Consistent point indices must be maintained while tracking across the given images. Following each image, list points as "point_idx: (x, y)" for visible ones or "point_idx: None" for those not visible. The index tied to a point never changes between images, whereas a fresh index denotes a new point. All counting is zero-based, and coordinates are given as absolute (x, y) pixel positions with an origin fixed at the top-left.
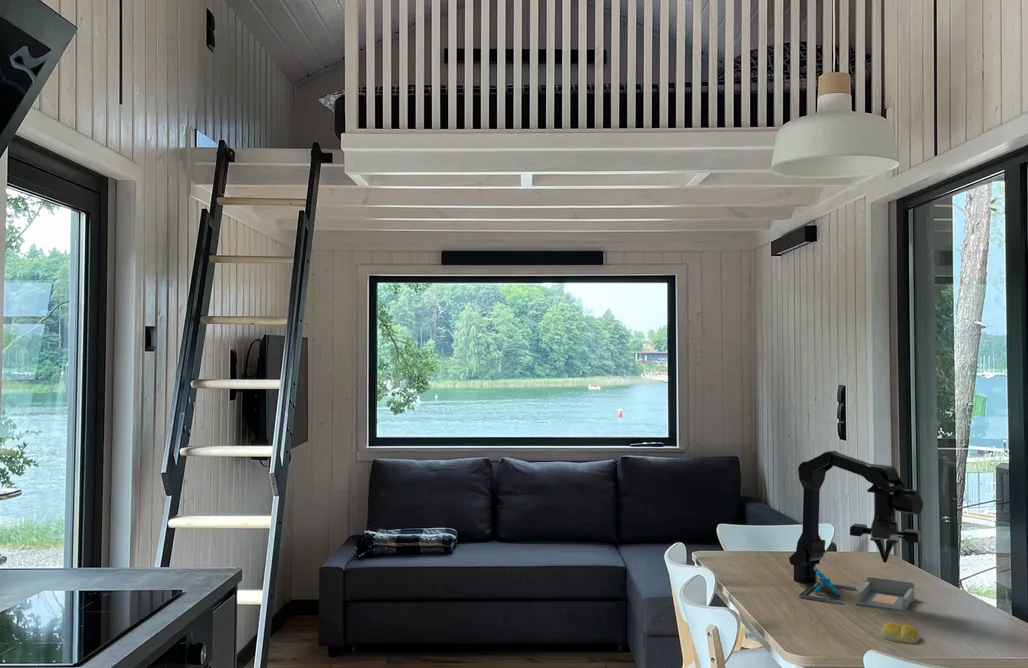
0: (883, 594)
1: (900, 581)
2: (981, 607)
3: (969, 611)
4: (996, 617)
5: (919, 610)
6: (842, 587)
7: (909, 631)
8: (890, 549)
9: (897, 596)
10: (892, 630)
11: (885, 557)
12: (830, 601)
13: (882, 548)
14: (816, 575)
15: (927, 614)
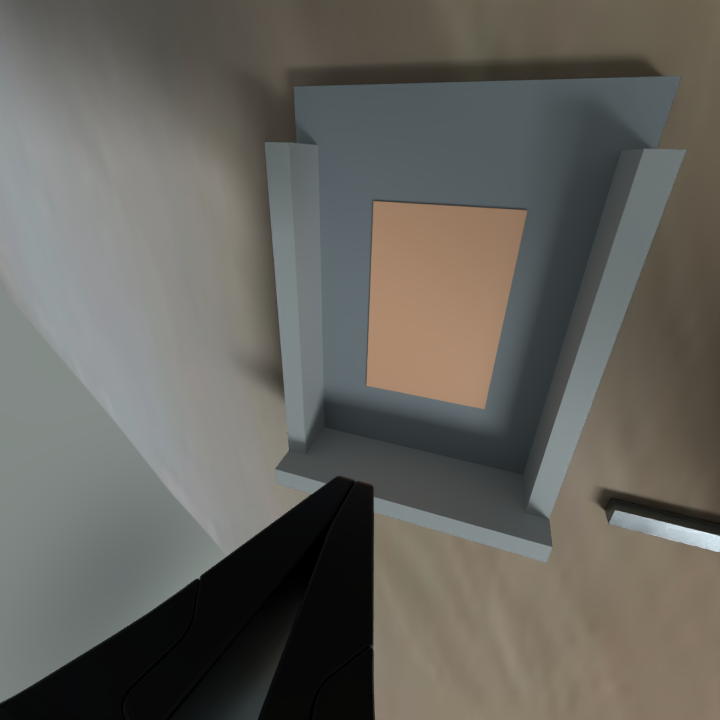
0: (449, 413)
1: None
2: (112, 397)
3: (115, 326)
4: (33, 285)
5: (258, 234)
6: (705, 525)
7: None
8: (131, 638)
9: (375, 399)
10: None
11: (313, 520)
12: None
13: (270, 702)
14: None
15: (209, 170)
